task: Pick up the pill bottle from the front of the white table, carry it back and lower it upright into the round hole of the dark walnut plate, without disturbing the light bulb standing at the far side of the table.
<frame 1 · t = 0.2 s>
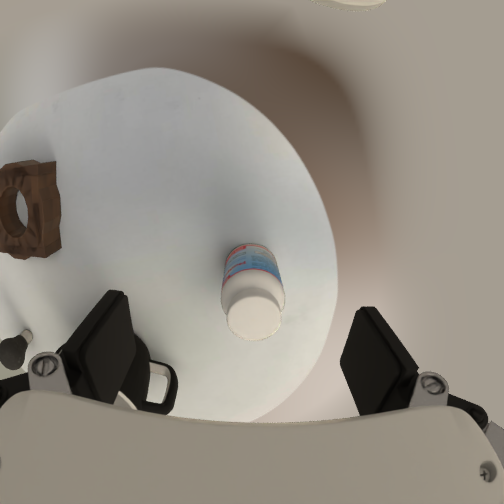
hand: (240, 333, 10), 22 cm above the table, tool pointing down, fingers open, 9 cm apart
mug: (124, 347, 37), on the table
pill bottle: (250, 265, 33), on the table
hole plate: (29, 206, 29), on the table
light bulb: (30, 332, 37), on the table
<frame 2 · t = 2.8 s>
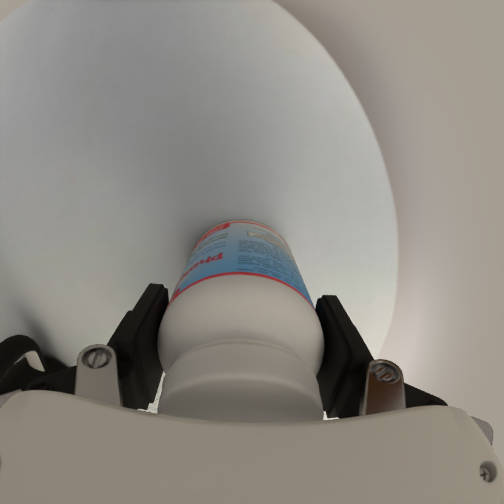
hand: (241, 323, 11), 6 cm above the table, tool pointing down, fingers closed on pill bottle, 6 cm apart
mug: (61, 382, 21), on the table
pill bottle: (241, 265, 17), on the table, touching gripper
when the fingers open (6 cm above the table, at t = 11.0 s): pill bottle stays where it is, resting in hole plate.
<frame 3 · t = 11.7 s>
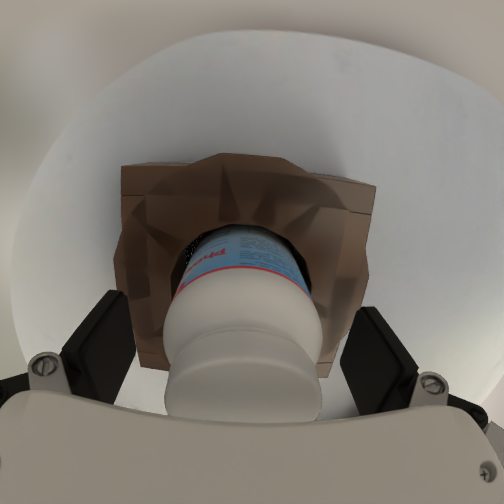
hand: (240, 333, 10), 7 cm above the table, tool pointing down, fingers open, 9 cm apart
pill bottle: (242, 262, 17), resting in hole plate
hole plate: (240, 263, 17), on the table
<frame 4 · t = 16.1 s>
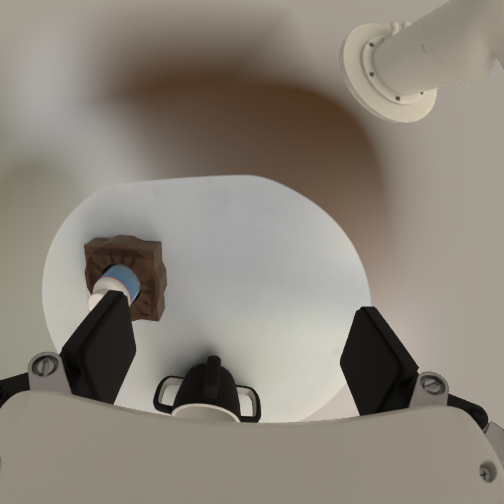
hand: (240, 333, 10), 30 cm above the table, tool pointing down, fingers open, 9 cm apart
mug: (210, 376, 51), on the table
pill bottle: (130, 273, 42), resting in hole plate
hole plate: (129, 273, 42), on the table
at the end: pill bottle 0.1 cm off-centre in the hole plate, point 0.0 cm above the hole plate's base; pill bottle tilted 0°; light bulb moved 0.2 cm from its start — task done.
